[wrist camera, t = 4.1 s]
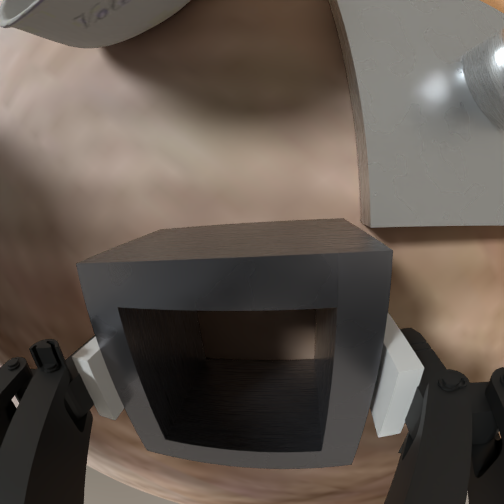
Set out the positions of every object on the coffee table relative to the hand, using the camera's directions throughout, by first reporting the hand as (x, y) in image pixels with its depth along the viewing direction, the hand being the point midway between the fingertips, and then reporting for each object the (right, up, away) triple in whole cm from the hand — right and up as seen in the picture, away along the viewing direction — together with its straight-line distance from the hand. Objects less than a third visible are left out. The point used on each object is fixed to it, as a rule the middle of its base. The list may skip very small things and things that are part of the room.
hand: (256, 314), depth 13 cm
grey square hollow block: (0, 0, 0) cm, 0 cm away
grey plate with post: (+12, +11, -4) cm, 17 cm away
